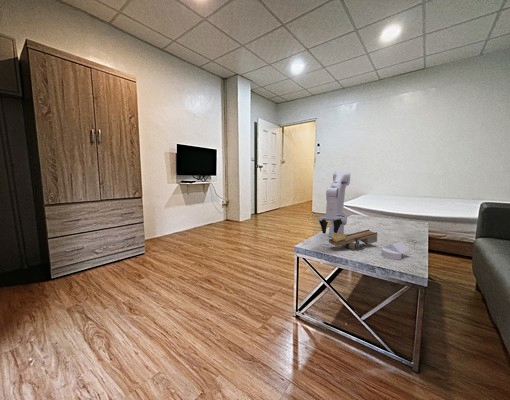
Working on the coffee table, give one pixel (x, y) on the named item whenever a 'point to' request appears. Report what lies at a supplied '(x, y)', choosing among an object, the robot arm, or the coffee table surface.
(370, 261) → the coffee table surface
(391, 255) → the wedge on round base
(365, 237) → the beam
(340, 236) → the rider
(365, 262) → the coffee table surface
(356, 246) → the grey metal bracket
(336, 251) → the coffee table surface
